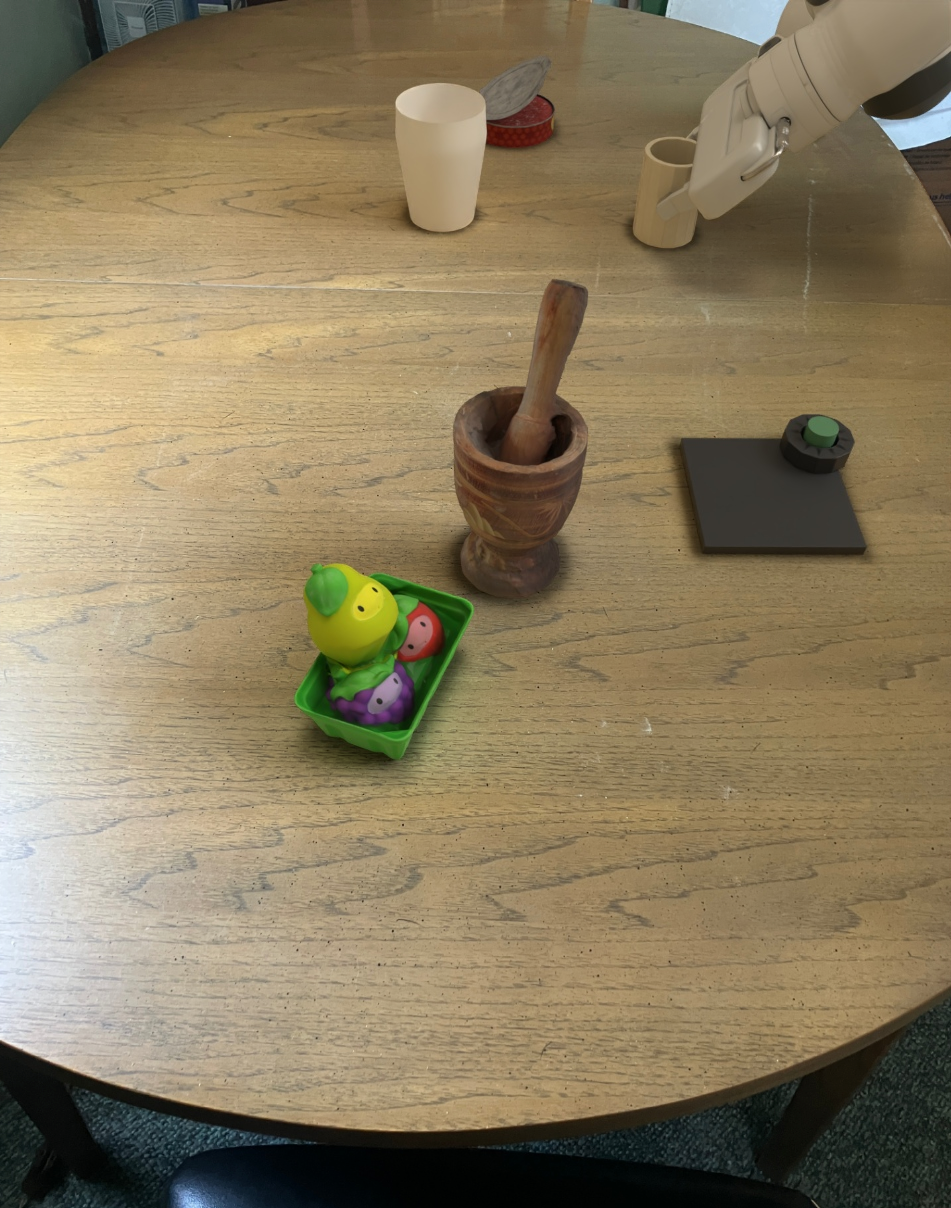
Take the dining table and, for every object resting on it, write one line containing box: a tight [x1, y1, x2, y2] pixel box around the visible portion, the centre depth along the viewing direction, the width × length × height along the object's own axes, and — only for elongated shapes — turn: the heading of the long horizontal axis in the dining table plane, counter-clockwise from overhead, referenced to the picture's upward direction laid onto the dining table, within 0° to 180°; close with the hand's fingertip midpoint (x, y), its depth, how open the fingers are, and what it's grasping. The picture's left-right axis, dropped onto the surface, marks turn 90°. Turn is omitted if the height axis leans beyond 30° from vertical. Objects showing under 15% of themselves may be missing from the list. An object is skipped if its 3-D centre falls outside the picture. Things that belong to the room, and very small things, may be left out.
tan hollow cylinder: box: [632, 136, 699, 249], centre depth 95 cm, size 6×6×9 cm
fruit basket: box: [293, 562, 475, 761], centre depth 58 cm, size 11×9×11 cm
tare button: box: [803, 416, 839, 448], centre depth 75 cm, size 2×2×1 cm
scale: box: [679, 413, 868, 555], centre depth 74 cm, size 13×13×3 cm
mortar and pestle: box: [452, 278, 589, 599], centre depth 63 cm, size 12×9×20 cm
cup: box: [394, 82, 487, 233], centre depth 96 cm, size 9×9×12 cm
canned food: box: [478, 55, 556, 149], centre depth 111 cm, size 11×10×10 cm
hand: (664, 188), depth 95 cm, fingers open, 8 cm apart
